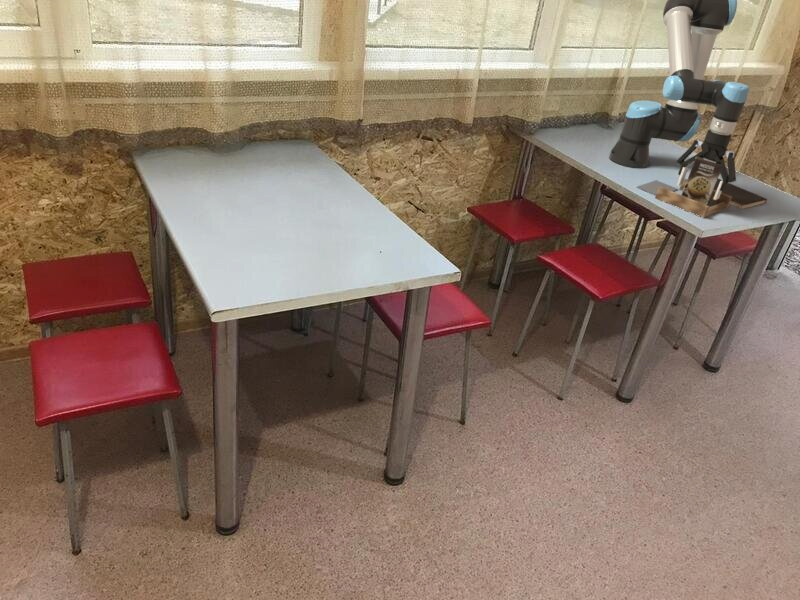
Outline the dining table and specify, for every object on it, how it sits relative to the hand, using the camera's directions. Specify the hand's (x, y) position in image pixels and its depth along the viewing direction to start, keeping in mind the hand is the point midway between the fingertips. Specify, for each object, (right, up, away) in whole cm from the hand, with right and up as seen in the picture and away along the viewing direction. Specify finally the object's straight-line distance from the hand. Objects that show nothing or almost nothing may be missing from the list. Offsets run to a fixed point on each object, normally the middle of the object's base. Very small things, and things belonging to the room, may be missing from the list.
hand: (697, 191), depth 226 cm
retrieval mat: (-10, +3, +11) cm, 15 cm away
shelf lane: (-1, -3, +3) cm, 4 cm away
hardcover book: (+17, +1, +15) cm, 23 cm away
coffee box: (-1, -4, +2) cm, 5 cm away
